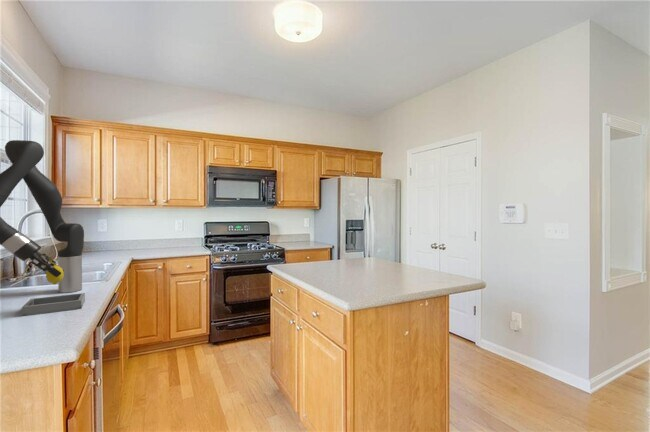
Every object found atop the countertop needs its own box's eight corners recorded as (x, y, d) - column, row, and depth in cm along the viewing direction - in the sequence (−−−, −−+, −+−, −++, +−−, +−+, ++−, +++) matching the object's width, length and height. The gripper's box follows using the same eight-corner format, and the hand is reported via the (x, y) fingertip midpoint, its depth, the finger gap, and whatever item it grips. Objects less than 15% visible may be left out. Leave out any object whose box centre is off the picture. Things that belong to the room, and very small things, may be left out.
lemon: (52, 283, 134) (52, 263, 134) (66, 283, 135) (66, 264, 134) (42, 286, 129) (42, 266, 128) (57, 286, 129) (57, 266, 129)
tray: (31, 306, 133) (30, 298, 133) (85, 300, 142) (84, 292, 142) (22, 316, 122) (22, 307, 122) (81, 308, 131) (81, 300, 131)
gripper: (25, 241, 121) (66, 269, 128) (35, 238, 133) (71, 264, 140) (6, 255, 119) (48, 284, 125) (17, 251, 131) (55, 277, 137)
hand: (60, 273), depth 132 cm, fingers closed on lemon, 5 cm apart
